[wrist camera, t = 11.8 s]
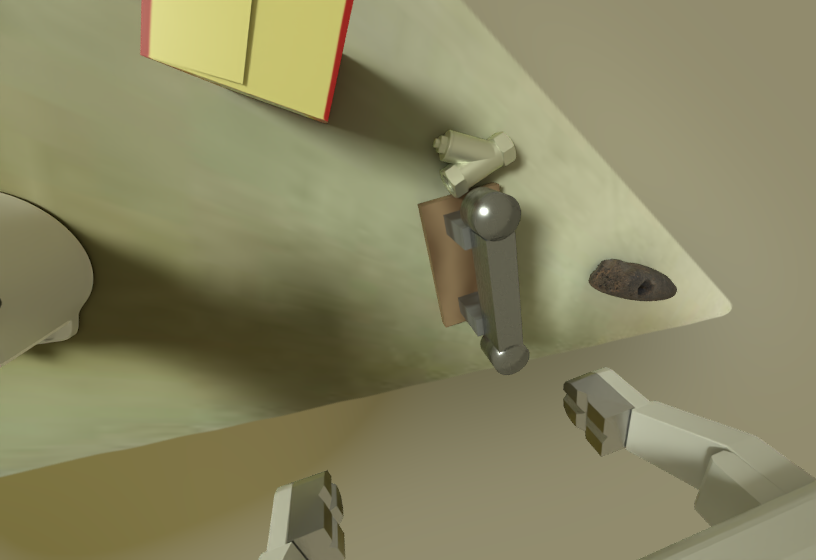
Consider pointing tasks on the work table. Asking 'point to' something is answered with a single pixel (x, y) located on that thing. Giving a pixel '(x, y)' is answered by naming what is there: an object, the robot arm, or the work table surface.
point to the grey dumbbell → (497, 275)
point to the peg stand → (452, 260)
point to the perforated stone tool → (631, 281)
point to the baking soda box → (253, 46)
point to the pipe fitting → (471, 158)
